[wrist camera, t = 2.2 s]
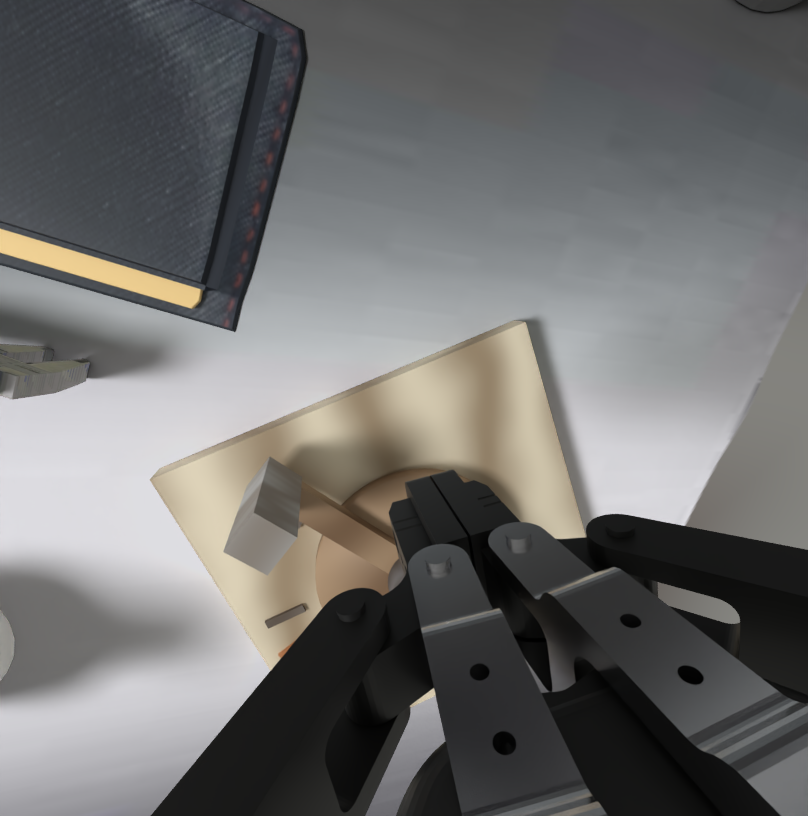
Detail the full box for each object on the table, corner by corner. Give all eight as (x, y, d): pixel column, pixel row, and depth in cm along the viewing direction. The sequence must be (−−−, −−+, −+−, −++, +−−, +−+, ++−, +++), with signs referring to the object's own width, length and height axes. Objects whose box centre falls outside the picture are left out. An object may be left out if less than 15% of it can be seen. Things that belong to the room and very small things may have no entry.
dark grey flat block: (316, 21, 20) (228, 346, 22) (316, 44, 21) (235, 342, 24) (-279, -288, 14) (-297, 185, 17) (-212, -223, 16) (-238, 195, 19)
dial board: (514, 320, 26) (527, 322, 24) (594, 598, 33) (609, 613, 31) (159, 468, 24) (148, 481, 23) (321, 729, 31) (321, 753, 29)
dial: (543, 533, 28) (614, 607, 21) (427, 669, 29) (460, 781, 22) (328, 375, 23) (332, 410, 16) (195, 548, 24) (149, 647, 17)
